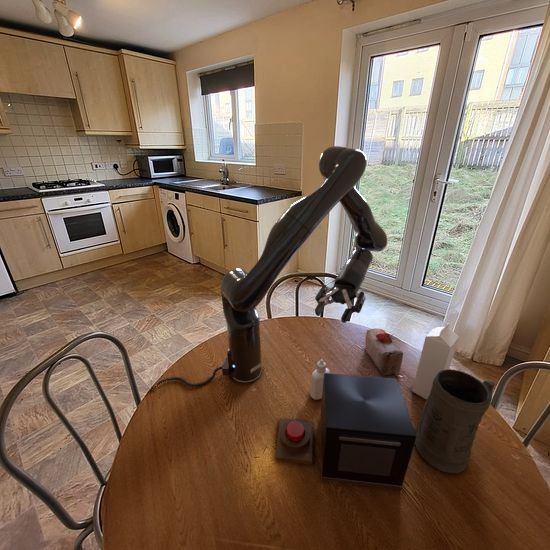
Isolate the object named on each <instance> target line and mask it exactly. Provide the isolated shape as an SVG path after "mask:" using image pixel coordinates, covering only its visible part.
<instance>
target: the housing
mask: <svg viewBox="0 0 550 550" xmlns="http://www.w3.org/2000/svg"><path fill="white" fill-rule="evenodd" d="M293 421H297V422H299V423H301V424H302V425H303V427H304V436H303V438H302V440H300V441H298V442H293V441H291V440H289V439H288V437H287V425H288V424H289V423H290V422H293ZM275 461H277V462H285V463H296V464H304V465H313V421H312V420H305V419H304V420H303V419H293V418H282V417H280V418H279V426H278V433H277V442H276V450H275Z"/></svg>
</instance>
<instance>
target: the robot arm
mask: <svg viewBox="0 0 550 550" xmlns="http://www.w3.org/2000/svg"><path fill="white" fill-rule="evenodd" d="M367 164H368V163H367V156H366V154H365V153H364V152H363V151H361V149H358V148H352V147H347V146H342V145H341V146H339V145H332V146H328V147H327V148H326V149H324V150H323V152H322V153H321V154H320V157H319V160H318V169H319V173H320V175H321V177H322V179H323V180H324V183H322V185H320V186H319V187H318V188H317V189H316V190H314V191H313V192H311V193H309V194H308V195H306V196H305V197H302V198H301V199H299V200H297V201H296V202H294V203H293V204H291V205H289V206H288V207H287V209H285V210H284V212H283V213H282V214H281V215H280V216H279V218H278V219H277V220H276V221H275V223H274V224H273V226H272V227H271V229H270V231H269V233H268V236H267V239H266V242H265V244H264V248H263V250H262V253H261V255H260V257H259V259H258V260H257V261H256V263H255V264H254V265H253V267H252V268H251V269H250V271H247V270H245V269H243V268H234V269H231V270H229V271H227V273H226V274H224V276H223V278H222V280H221V283H220V297H221V303H222V311H223V316H224V319H225V323H226V332H227V342H228V349H227V352H226V354H227V357H225V360H224V362H223V365H222V366H219V367H217V368H215V369H214V371H213V373H212V375H211V376H210V377H209V378H208V379H206V380H205V381H202V382H199V383H190V382H189V381H187V380H185V379H184V378H183V377H180V376H174V377H168V378H164V379H162V380H159V381H158V382H156V383H155V384H157V383H158V384H157V386H155V387H154V388H153V390H155V388H157V387H158V386H159V385H161V384H163V383H165V382H169V381H175V380H176V381H177V380H178V381H181V382H182V383H184V384H185V385H186V386H188V387H192V388H193V387H195V388H196V387H200V386H204V385H206V384H208V383H209V382H211V381H212V380H214V378H215V377H216V374H217V372H218V371H220V370H221V373H222V376H223V377H229V379H233V381H235V382H237V383H240V384H250V383H254V382H256V381H257V380H258V379H259V378H260V377H261V376H262V374H263V368H262V367H263V366H262V349H261V348H262V346H261V344H262V343H261V320H260V315H259V312H258V310H257V306H259V305H260V303H261V302H262V301H263V300H264V298H265V297H266V295H267V294H268V292H269V290H270V289H271V287H273V284H274V283H275V281H276V280H277V278H278V277H279V275H280V274H281V273H282V271H283V270H284V269H285V268H286V266H287V265H288V264H289V263H290V261H291V260H292V258H294V256H295V255H296V254H297V252H298V251H299V250H301V248H302V247H303V245H304V244H305V243H306V242H307V240H308V239H309V238H310V237H311V236H312V234H313V233H314V232H315V230H316V229H317V228H318V226H320V224H321V223H322V222H323V221H324V219H325V218H326V217H327V216H328V215H329V213H330V212H331V211H332V210H333V209H334V208H335V206H337V204H338V203H340V204H341V206H342V208H343V210H344V211H345V214H346V216H347V218H348V219H349V222H350V224H351V226H352V229H353V231H354V232H355V233H356V234H355V236H354V239H353V240H354V241H353V245H352V251H351V254H350V255H349V257H348V259H347V260H346V262H345V263H344V264H343V266H342V268H341V270H340V272H339V273H338V275H337V277H336V278H335V279H334V283H333V285H332V286H331V287H329V286H327V284H323V285H322V286H321V288H320V289H319V291H318V292H317V294H316V295H315V296H314V299H315V301H316V303H317V305H316V307H315V309H314V314H315V316H316V317H320V316H321V314H322V313H323V311H324V309H325V307H326V306H327V305H332V304H333V303H334V304H335V303H336V304H341V305H346V308H345V309H344V311H343V314H342V315H341V317H340V320H341V323H342V324H346V323H347V322H349V320H350V318H351V316H352V314H354V313H356V314H360V313H361V311H362V309H363V306H364V303H365V302H366V299H367V297H366V295H365V294H366V293H365V292H364V291H360V292H359V290H360V288H361V286H362V284H363V282H364V281H365V278H366V276H367V273H368V270H369V269H370V266H371V264H372V263H373V259H374V255H373V253H372V252H375V253H379V252H383V251H384V250H385V249H386V248H387V246H388V243H389V242H388V236H387V233H386V231H385V230H384V229H383V227H382V226H381V225H380V224H379V222H378V221H376V219H375V216H374V213H373V210H372V208H371V206H370V204H369V203H368V201H367V200H366V198H365V197H364V196H362V194H361V193H360V192H359V191H358V189H357V188H356V185H357V184H358V183H359V181H360V180H361V179H362V177H363V176H364V174H365V171H366V169H367ZM355 299H356V300H355ZM353 300H355V303H354V305H353V304H352V301H353ZM170 378H171V379H170ZM166 380H167V381H166ZM164 381H165V382H164ZM162 382H163V383H162ZM160 383H161V384H160ZM150 389H151V388H150ZM150 389H149V390H150ZM151 390H152V389H151ZM151 390H150V391H149V392H152V391H153V390H152V391H151Z"/></svg>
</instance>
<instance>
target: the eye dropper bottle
mask: <svg viewBox="0 0 550 550" xmlns="http://www.w3.org/2000/svg"><path fill="white" fill-rule="evenodd" d="M324 373H328V374H331V370H330V369H329V368H328V367H327V363H326V362H325V361H324V359H323V358H320V360H319V361H317V363H316V369H314V371H312V373H311V376H310V391H309V392H310V393H309V396H310V397H311V398H312V399H313V400H315V401H318V400H322V392H323V380H324Z"/></svg>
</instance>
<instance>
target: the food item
mask: <svg viewBox="0 0 550 550" xmlns="http://www.w3.org/2000/svg"><path fill="white" fill-rule="evenodd" d="M394 340H395V338H394V337H393V334H391V333H388V332H387V331H386V330H385V329H382V328H370V329H367V330H366V332H365V340H364V343H365V345H364V350H365V352H366V354H367V355H368V356H369V358H370V359H371V360H372V362H373V363H374V365H375V366H376V368H377V369H378V370H379V372H380V373H381V374H382V375H381V376H389V375H396V374H400V371H401V368H402V363H403V357H404V352H403V351H402V349H400V347H399V346H398V345H397V343H395V341H394Z"/></svg>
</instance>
